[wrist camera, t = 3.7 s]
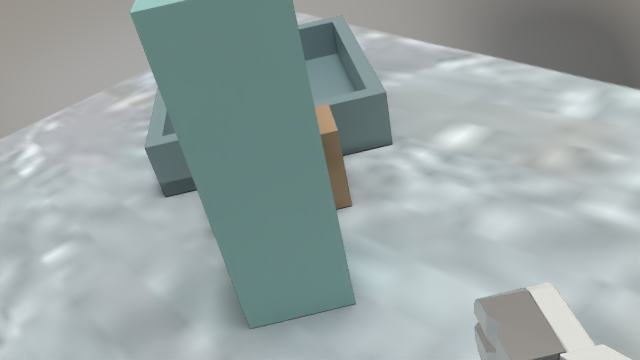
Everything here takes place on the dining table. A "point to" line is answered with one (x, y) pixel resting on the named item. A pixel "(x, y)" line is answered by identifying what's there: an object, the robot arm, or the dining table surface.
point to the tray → (327, 88)
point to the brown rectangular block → (333, 156)
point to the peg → (251, 148)
